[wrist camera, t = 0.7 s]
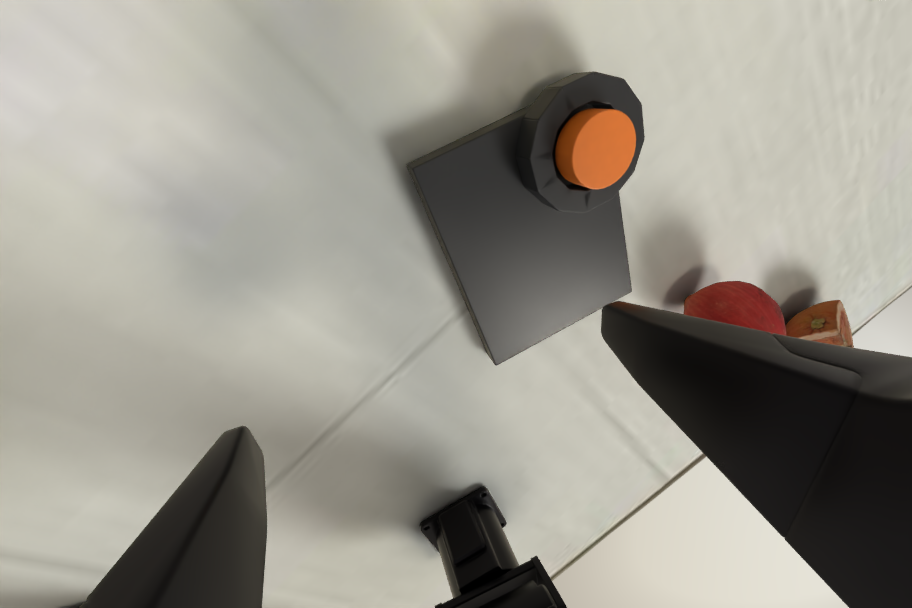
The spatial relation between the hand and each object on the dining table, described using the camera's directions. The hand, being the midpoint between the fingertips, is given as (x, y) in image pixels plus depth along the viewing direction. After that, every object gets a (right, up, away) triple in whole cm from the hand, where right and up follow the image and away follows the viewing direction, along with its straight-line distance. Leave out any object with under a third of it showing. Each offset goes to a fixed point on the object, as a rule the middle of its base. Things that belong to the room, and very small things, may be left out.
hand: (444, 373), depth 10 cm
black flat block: (+5, +6, +15) cm, 17 cm away
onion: (+19, +2, +23) cm, 30 cm away
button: (+7, +10, +10) cm, 16 cm away
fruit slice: (+33, 0, +29) cm, 44 cm away
